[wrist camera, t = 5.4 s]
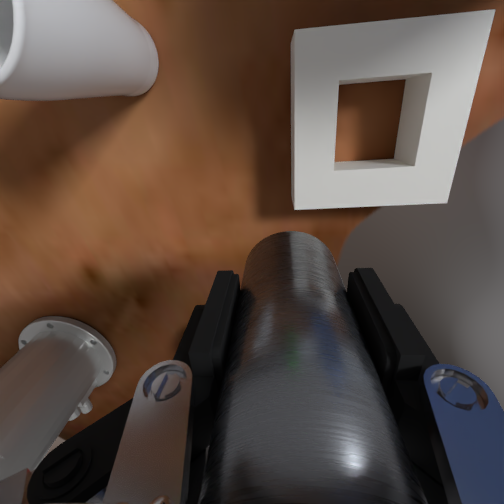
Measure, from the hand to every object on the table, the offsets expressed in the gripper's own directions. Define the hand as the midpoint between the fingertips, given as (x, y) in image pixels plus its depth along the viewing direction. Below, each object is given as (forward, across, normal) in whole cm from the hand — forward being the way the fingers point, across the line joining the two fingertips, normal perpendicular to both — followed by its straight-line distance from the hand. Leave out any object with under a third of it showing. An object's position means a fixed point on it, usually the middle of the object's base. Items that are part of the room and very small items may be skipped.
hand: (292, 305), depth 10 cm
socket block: (+18, -7, -5) cm, 20 cm away
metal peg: (+2, 0, 0) cm, 2 cm away
